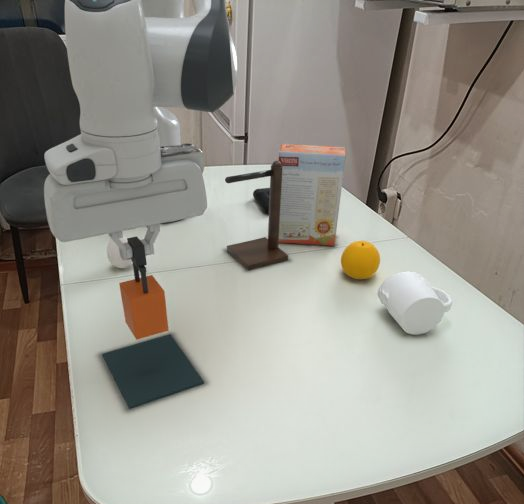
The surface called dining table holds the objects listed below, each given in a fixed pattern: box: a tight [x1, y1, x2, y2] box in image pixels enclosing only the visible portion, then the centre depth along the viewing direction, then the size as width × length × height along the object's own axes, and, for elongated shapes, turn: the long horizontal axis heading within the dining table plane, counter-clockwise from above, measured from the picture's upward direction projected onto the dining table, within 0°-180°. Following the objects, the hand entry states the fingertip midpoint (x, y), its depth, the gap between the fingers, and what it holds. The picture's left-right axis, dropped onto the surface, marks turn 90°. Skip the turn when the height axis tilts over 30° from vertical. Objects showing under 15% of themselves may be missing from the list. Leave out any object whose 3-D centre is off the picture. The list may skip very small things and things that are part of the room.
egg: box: [106, 235, 132, 269], centre depth 105 cm, size 5×5×7 cm
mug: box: [377, 271, 453, 336], centre depth 93 cm, size 12×9×8 cm
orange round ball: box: [340, 240, 381, 280], centre depth 106 cm, size 8×8×8 cm
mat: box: [101, 333, 205, 409], centre depth 82 cm, size 14×12×1 cm
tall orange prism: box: [118, 235, 169, 341], centre depth 73 cm, size 5×5×14 cm
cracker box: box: [278, 143, 346, 247], centre depth 114 cm, size 14×6×21 cm, turn 84°
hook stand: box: [224, 160, 289, 271], centre depth 107 cm, size 10×13×20 cm
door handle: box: [252, 187, 270, 215], centre depth 135 cm, size 3×20×16 cm
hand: (137, 255), depth 70 cm, fingers closed on tall orange prism
